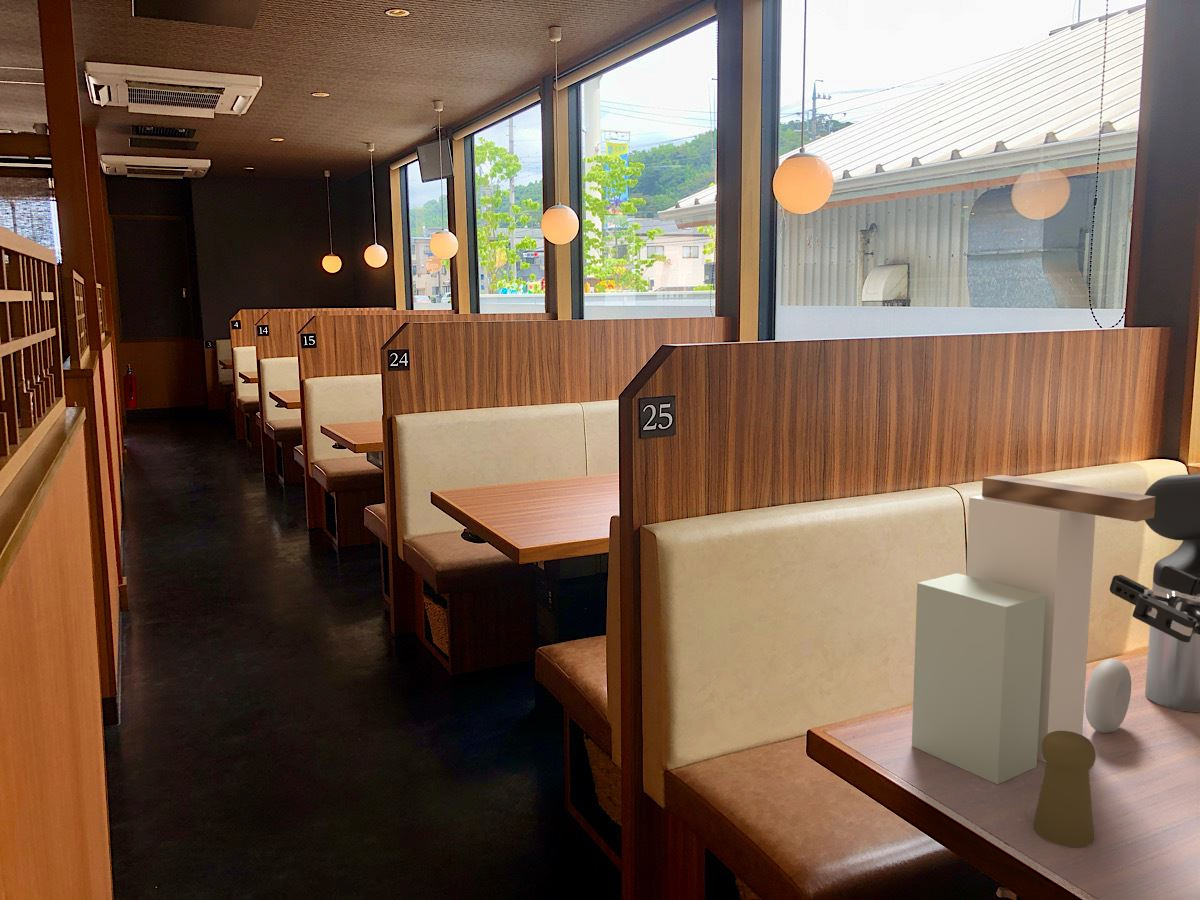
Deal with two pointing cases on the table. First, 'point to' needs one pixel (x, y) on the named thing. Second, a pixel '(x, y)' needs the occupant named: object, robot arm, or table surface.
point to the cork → (1066, 790)
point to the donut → (1108, 695)
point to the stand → (1005, 640)
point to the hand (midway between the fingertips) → (1138, 577)
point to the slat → (1070, 497)
